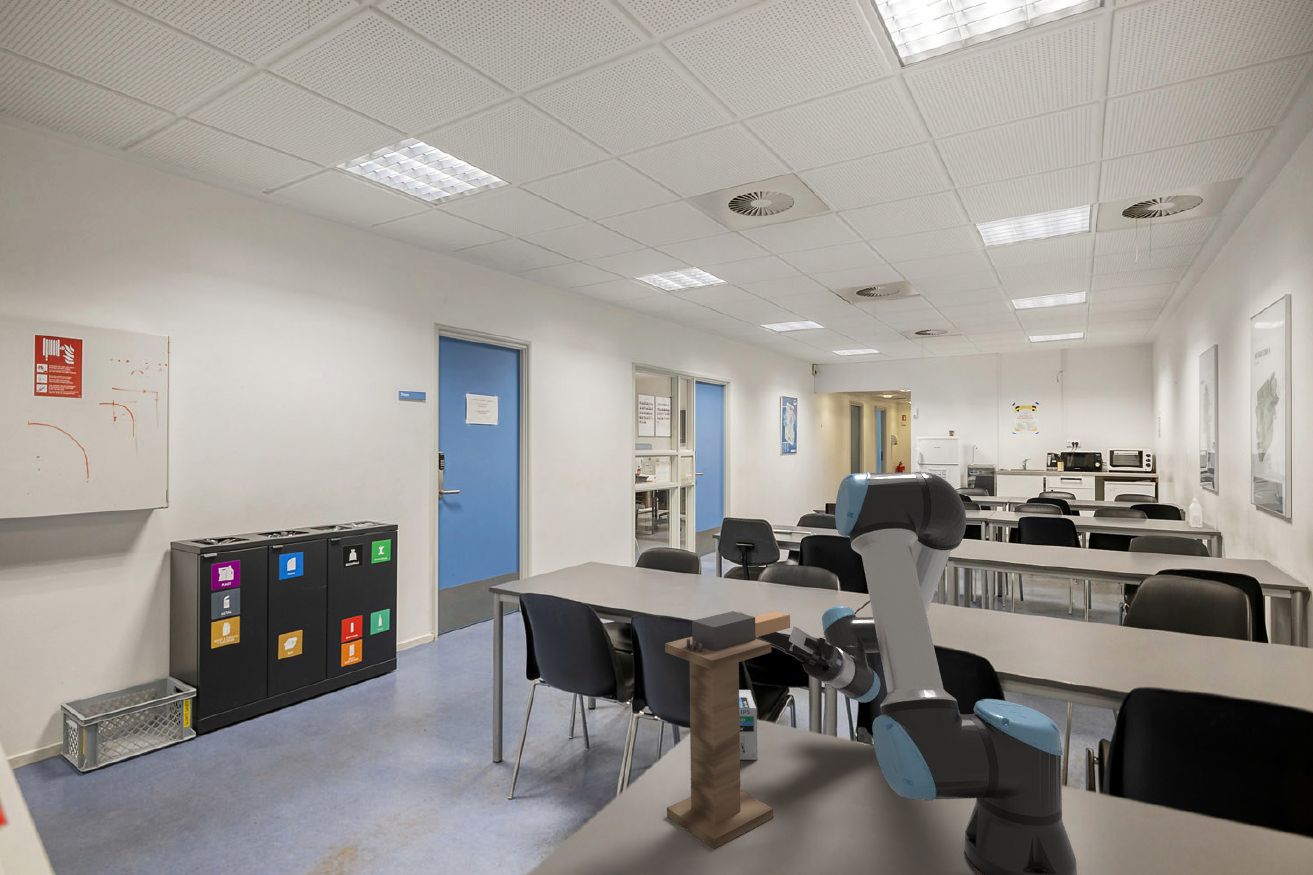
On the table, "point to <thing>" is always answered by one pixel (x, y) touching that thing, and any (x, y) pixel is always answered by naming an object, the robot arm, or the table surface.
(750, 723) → the light bulb box
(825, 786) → the table surface
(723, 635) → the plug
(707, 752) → the stand
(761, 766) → the table surface
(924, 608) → the robot arm
